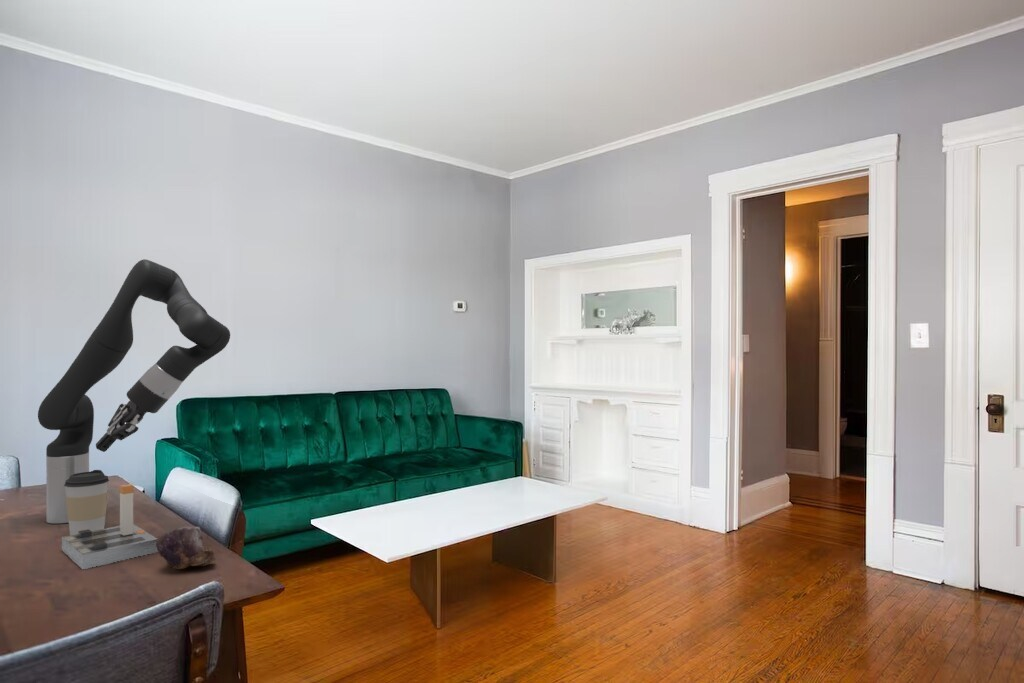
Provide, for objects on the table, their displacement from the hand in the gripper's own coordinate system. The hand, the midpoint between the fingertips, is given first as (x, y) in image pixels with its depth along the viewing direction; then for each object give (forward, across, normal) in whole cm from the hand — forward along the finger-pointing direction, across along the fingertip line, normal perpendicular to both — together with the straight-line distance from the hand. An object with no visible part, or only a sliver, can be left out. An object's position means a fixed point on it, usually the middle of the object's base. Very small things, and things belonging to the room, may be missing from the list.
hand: (99, 448), depth 137 cm
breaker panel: (+16, -7, -14) cm, 23 cm away
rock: (+5, -27, -20) cm, 34 cm away
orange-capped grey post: (+12, -6, -15) cm, 20 cm away
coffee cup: (+23, +11, -16) cm, 30 cm away
